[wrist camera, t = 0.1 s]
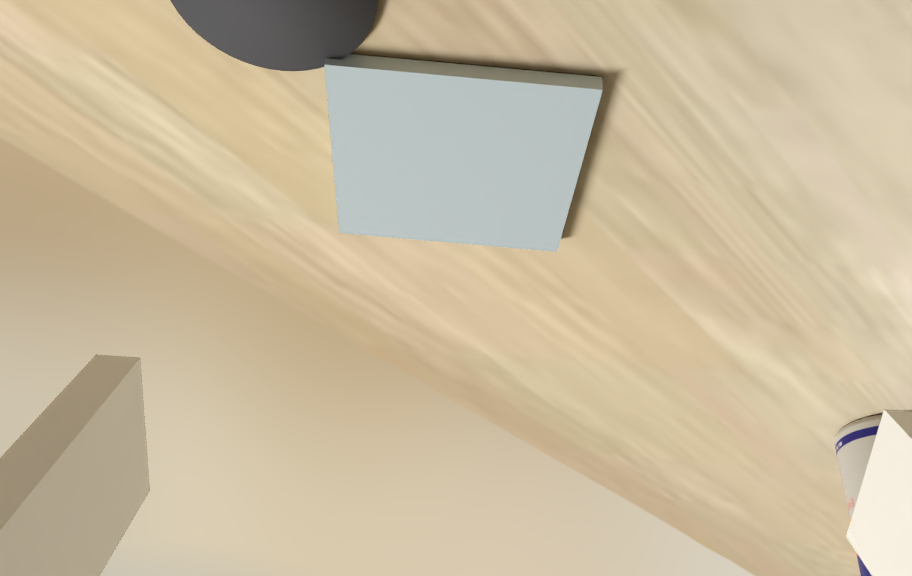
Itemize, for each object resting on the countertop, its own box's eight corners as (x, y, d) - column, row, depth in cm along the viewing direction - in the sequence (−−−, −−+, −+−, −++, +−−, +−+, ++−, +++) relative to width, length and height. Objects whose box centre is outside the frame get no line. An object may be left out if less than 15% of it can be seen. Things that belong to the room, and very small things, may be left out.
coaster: (326, 52, 27) (324, 64, 27) (602, 76, 27) (602, 90, 27) (341, 221, 35) (339, 232, 34) (557, 240, 35) (556, 251, 35)
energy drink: (813, 432, 49) (854, 652, 42) (898, 402, 45) (958, 639, 39) (869, 456, 51) (916, 668, 45) (954, 429, 48) (1020, 657, 41)
